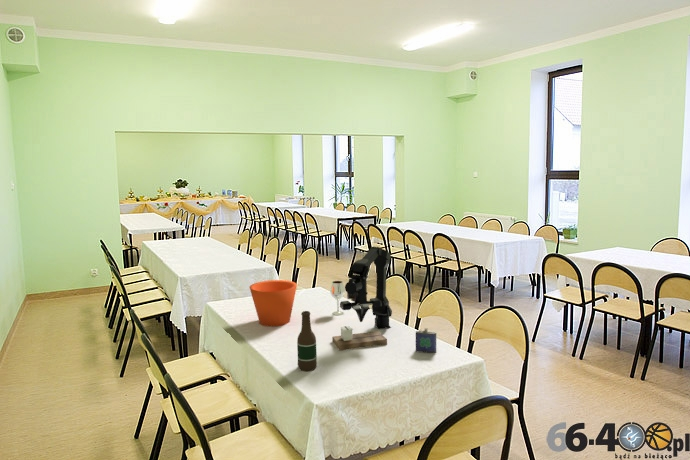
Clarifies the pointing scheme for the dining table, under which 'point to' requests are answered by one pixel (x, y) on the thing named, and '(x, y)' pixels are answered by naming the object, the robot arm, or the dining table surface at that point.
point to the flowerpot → (273, 301)
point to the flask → (426, 341)
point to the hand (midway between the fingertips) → (360, 321)
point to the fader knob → (346, 333)
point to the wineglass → (337, 294)
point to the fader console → (360, 340)
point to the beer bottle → (306, 345)
